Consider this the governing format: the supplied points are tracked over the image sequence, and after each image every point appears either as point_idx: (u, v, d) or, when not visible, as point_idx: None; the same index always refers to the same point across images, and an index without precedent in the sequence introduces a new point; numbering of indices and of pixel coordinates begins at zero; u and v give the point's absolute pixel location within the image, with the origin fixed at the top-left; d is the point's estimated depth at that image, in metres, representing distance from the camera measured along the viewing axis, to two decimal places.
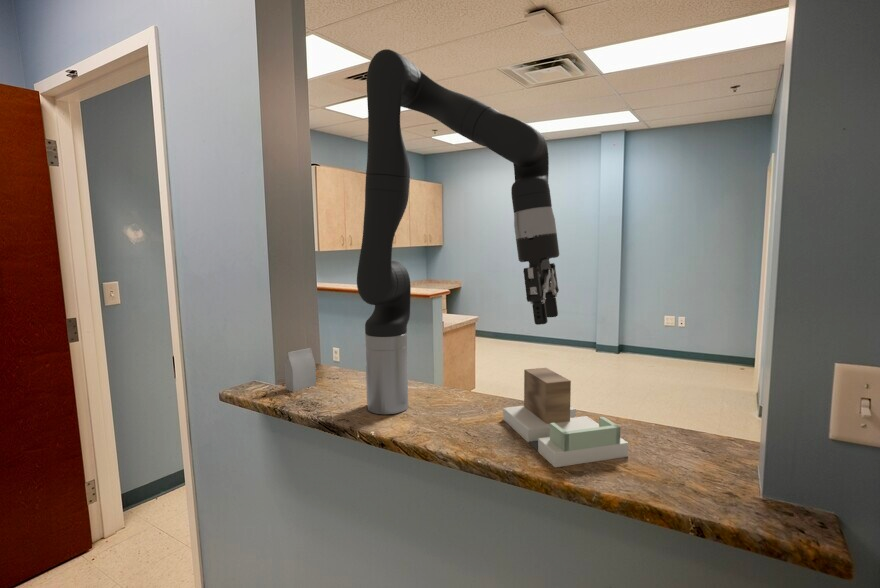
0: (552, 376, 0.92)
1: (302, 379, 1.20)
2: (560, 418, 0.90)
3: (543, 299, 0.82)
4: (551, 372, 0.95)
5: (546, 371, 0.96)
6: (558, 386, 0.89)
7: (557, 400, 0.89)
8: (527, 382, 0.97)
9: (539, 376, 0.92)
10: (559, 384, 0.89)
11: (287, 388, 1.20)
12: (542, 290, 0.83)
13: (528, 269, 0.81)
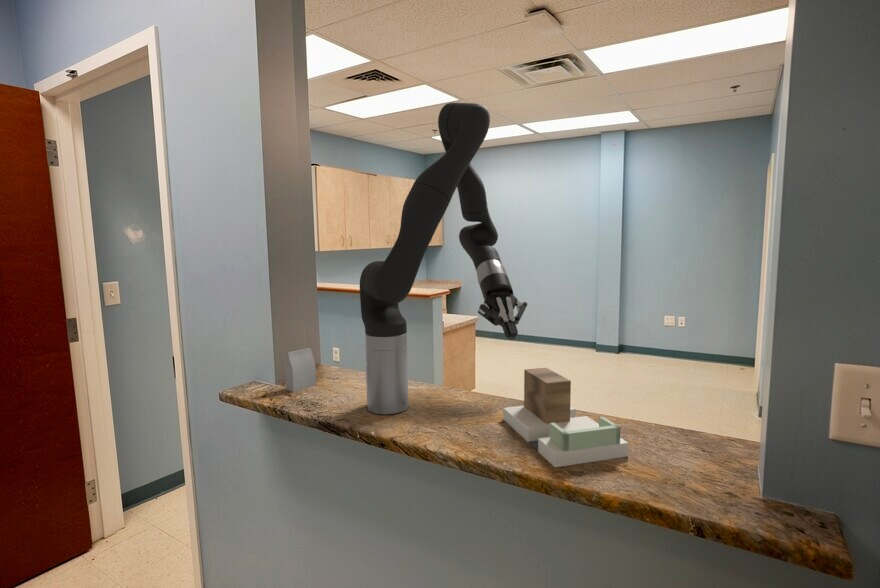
0: (552, 376, 0.92)
1: (302, 379, 1.20)
2: (560, 418, 0.90)
3: None
4: (551, 372, 0.95)
5: (546, 371, 0.96)
6: (558, 386, 0.89)
7: (557, 400, 0.89)
8: (527, 382, 0.97)
9: (539, 376, 0.92)
10: (559, 384, 0.89)
11: (287, 388, 1.20)
12: None
13: None
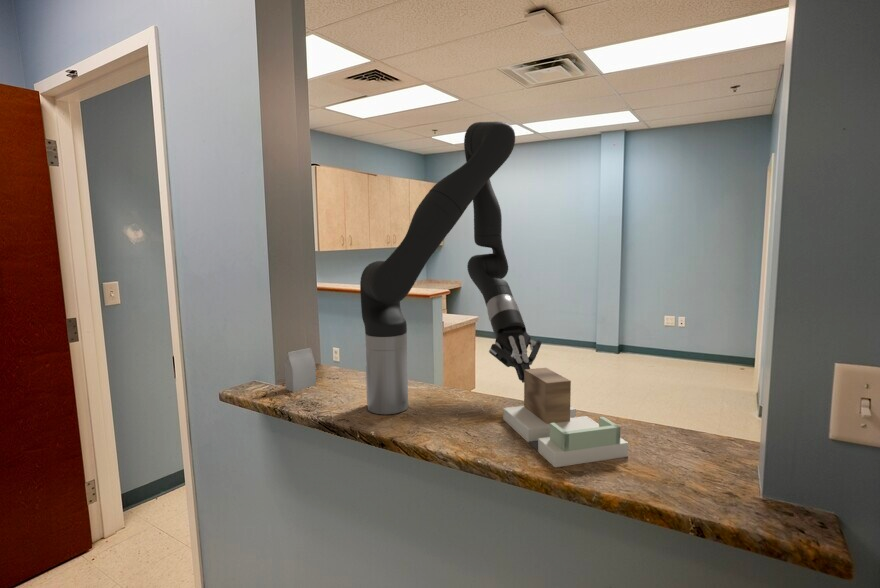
0: (552, 376, 0.92)
1: (302, 379, 1.20)
2: (560, 418, 0.90)
3: None
4: (551, 372, 0.95)
5: (546, 371, 0.96)
6: (558, 386, 0.89)
7: (557, 400, 0.89)
8: (527, 382, 0.97)
9: (539, 376, 0.92)
10: (559, 384, 0.89)
11: (287, 388, 1.20)
12: None
13: None
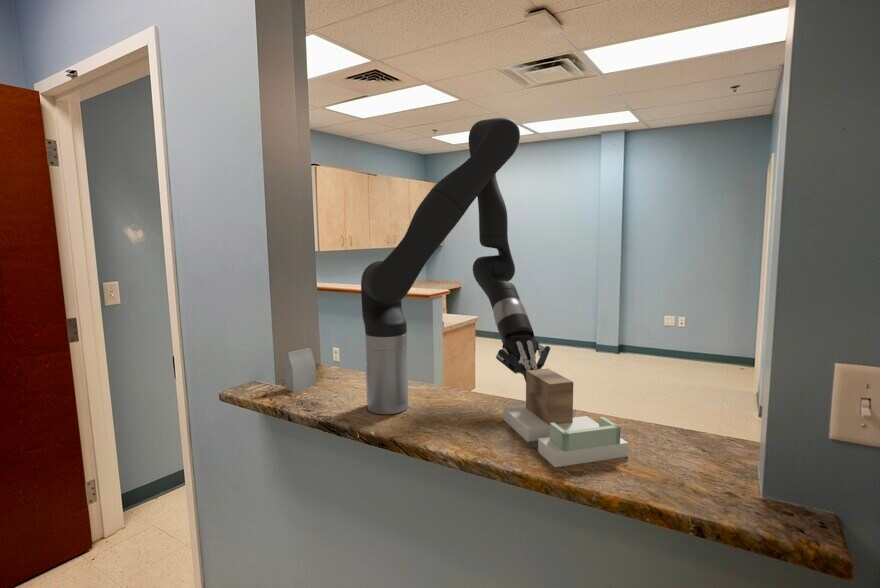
0: (554, 377, 0.92)
1: (302, 379, 1.20)
2: (563, 419, 0.89)
3: None
4: (553, 373, 0.94)
5: (548, 372, 0.95)
6: (560, 387, 0.88)
7: (559, 401, 0.88)
8: (528, 383, 0.96)
9: (541, 377, 0.92)
10: (561, 385, 0.88)
11: (287, 388, 1.20)
12: None
13: (548, 350, 1.05)
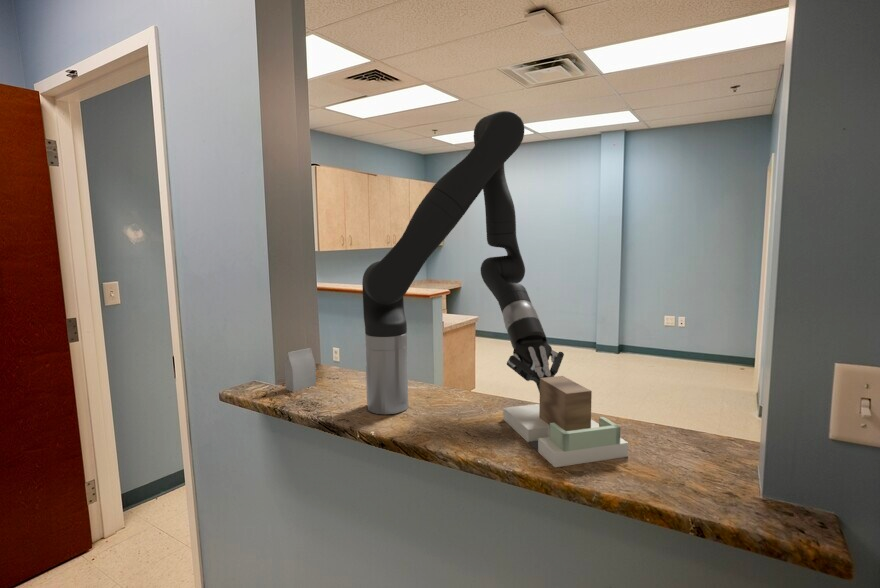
0: (571, 385, 0.86)
1: (302, 379, 1.20)
2: None
3: None
4: (569, 381, 0.89)
5: (563, 380, 0.90)
6: (578, 396, 0.82)
7: (577, 411, 0.83)
8: (542, 392, 0.90)
9: (557, 386, 0.86)
10: (579, 395, 0.82)
11: (287, 388, 1.20)
12: None
13: None
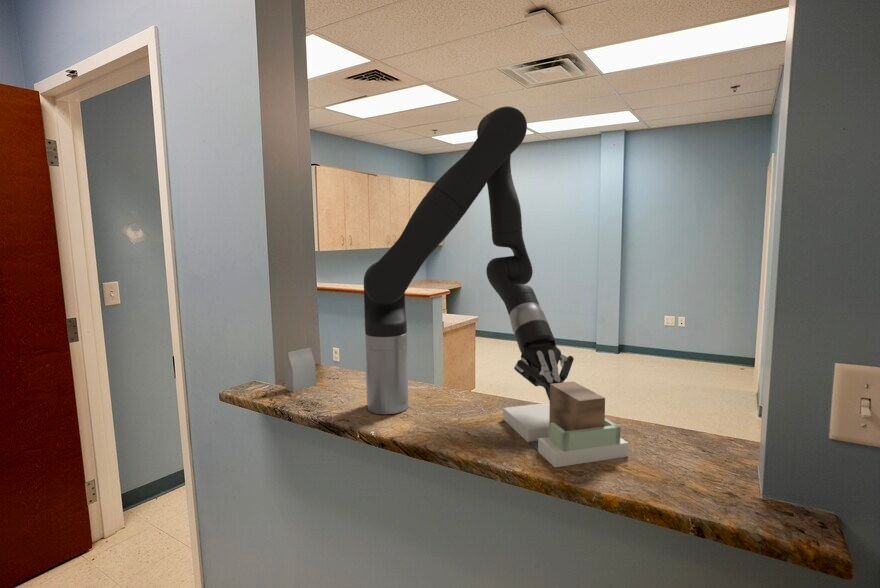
0: (583, 392, 0.82)
1: (302, 379, 1.20)
2: None
3: None
4: (581, 387, 0.85)
5: (574, 386, 0.86)
6: (591, 404, 0.79)
7: (590, 419, 0.79)
8: (553, 398, 0.87)
9: (568, 392, 0.82)
10: (592, 402, 0.79)
11: (287, 388, 1.20)
12: None
13: None
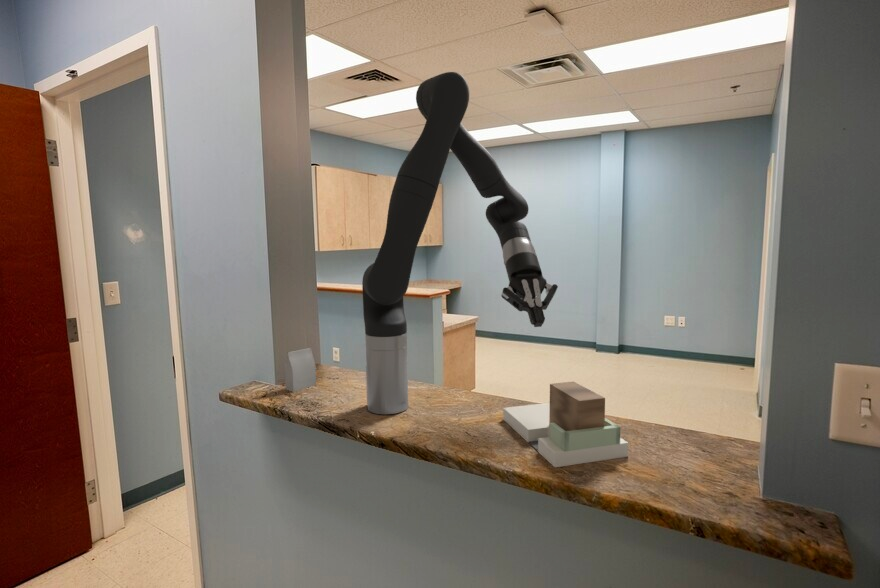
0: (583, 392, 0.82)
1: (301, 379, 1.20)
2: None
3: None
4: (581, 387, 0.85)
5: (574, 386, 0.86)
6: (591, 404, 0.79)
7: (590, 419, 0.79)
8: (553, 398, 0.87)
9: (568, 392, 0.82)
10: (592, 402, 0.79)
11: (287, 388, 1.20)
12: None
13: None
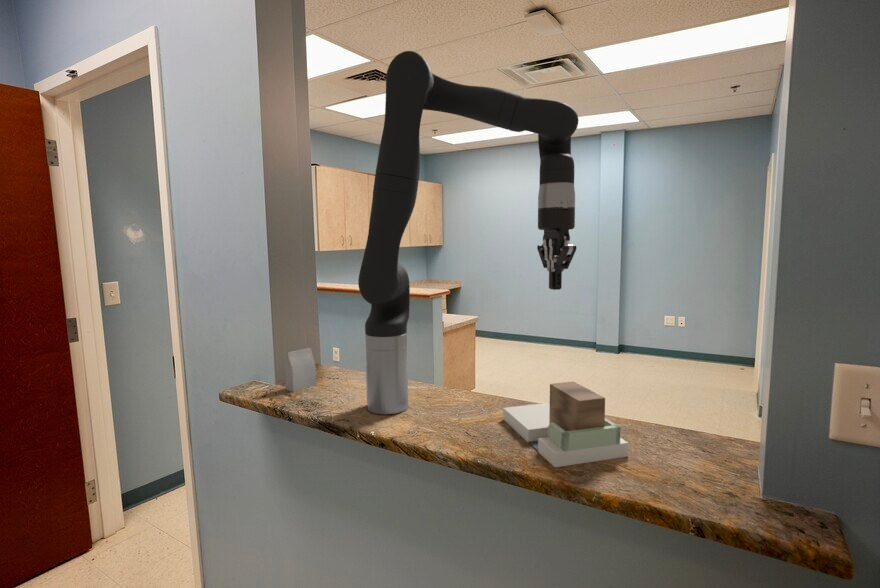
0: (583, 392, 0.82)
1: (301, 379, 1.20)
2: None
3: (563, 269, 0.98)
4: (581, 387, 0.85)
5: (574, 386, 0.86)
6: (591, 404, 0.79)
7: (590, 419, 0.79)
8: (553, 398, 0.87)
9: (568, 392, 0.82)
10: (592, 402, 0.79)
11: (287, 388, 1.20)
12: (563, 261, 0.97)
13: (569, 248, 0.92)
